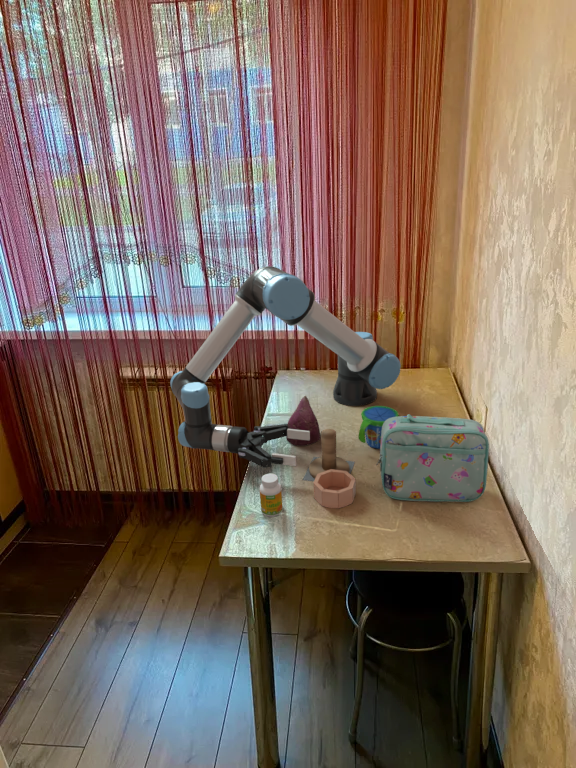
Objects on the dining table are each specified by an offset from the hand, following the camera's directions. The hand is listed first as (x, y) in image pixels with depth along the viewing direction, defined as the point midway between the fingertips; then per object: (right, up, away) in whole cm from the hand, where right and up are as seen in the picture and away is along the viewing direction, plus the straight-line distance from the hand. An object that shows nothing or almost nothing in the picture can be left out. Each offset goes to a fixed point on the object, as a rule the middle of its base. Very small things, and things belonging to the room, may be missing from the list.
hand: (303, 447), depth 152 cm
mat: (+7, -7, +1) cm, 10 cm away
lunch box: (+32, -11, -10) cm, 35 cm away
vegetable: (0, +1, +18) cm, 18 cm away
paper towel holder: (+7, -6, +1) cm, 10 cm away
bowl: (+8, -12, -10) cm, 17 cm away
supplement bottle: (-8, -14, -13) cm, 21 cm away
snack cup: (+23, 0, +14) cm, 27 cm away
